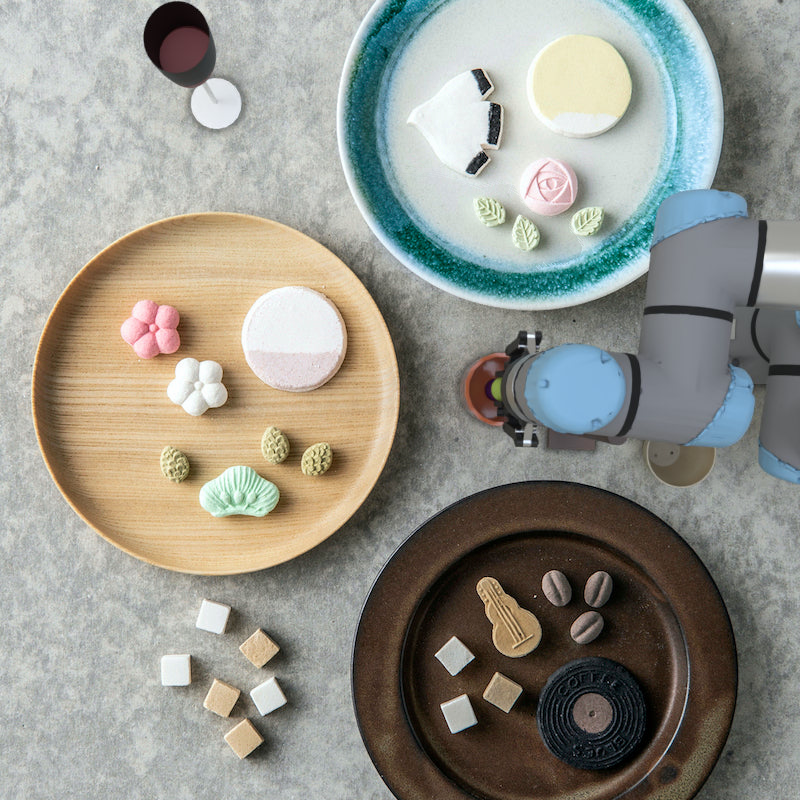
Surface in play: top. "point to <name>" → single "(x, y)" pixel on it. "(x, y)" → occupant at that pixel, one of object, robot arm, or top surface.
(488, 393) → the purple grape
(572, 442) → the stand
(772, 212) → the top surface
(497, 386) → the green grape
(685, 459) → the flower pot
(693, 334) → the robot arm
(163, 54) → the wineglass
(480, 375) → the pink bowl
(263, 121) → the top surface
